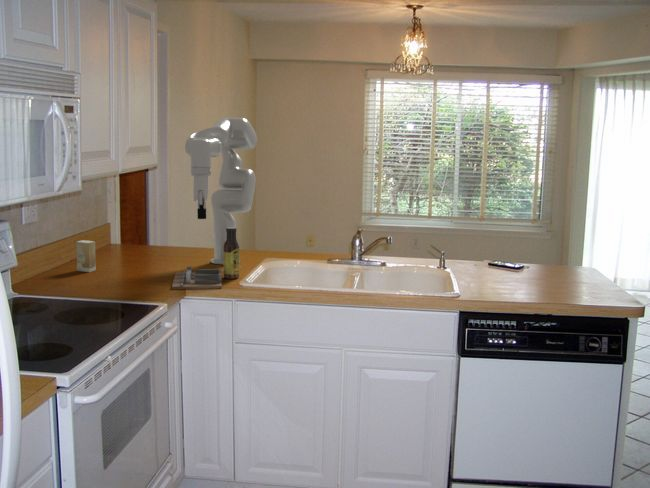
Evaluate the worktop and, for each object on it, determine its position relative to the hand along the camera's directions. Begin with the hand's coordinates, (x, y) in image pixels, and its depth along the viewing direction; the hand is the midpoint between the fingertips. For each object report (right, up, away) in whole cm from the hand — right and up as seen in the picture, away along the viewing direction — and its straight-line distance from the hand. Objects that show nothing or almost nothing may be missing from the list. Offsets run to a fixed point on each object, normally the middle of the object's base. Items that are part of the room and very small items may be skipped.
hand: (201, 218), depth 265 cm
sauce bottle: (+11, -23, +4) cm, 26 cm away
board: (-1, -24, -3) cm, 24 cm away
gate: (-4, -24, -6) cm, 25 cm away
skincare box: (-49, -21, +12) cm, 55 cm away
